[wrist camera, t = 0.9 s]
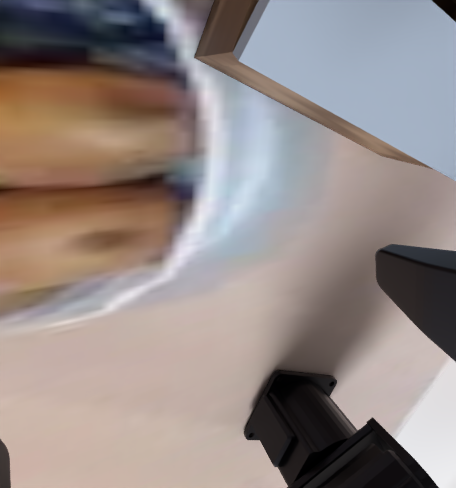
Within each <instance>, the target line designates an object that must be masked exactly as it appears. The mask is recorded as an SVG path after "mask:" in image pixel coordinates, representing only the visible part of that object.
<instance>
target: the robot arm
mask: <svg viewBox="0 0 456 488" xmlns="http://www.w3.org/2000/svg"><path fill="white" fill-rule="evenodd" d="M375 261H376V279H377V282H378V285H379V286H380V288H381V289H382V290H383V291H384V292H385V293H386V294H387V295H388V296H389V297H390V298H391V299H392V301H393V302H394V303H395V304H396V305H397V306H398V307H399V308H400V309H401V310H402V311H403V312H404V313H405V314H406V315H407V317H408V318H409V319H410V320H411V321H412V322H413V323H414V324H415V325H416V326H417V327H418V328H419V329H420V330H421V331H422V332H423V333H424V334H425V335H426V336H427V337H428V338H429V339H431V340H432V341H433V342H434V343H435V344H436V345H437V346H438V347H440V348H441V349H442V350H443V351H444V352H445V353H446V354H448V355H449V356H450V357H451V358H452V359H453V360H454V361H456V251H449V250H440V249H431V248H422V247H413V246H405V245H396V244H391V245H388V246H386V247H383V248H381V249H379V250H378V251H377V252H376V255H375ZM336 383H337V380H336V379H335V378H334V377H333V376H329V375H319V374H310V373H300V372H291V371H281V370H279V371H276V372H274V373H273V375H272V376H271V378H270V380H269V382H268V384H267V387H266V389H265V391H264V393H263V395H262V397H261V399H260V401H259V403H258V405H257V407H256V409H255V411H254V413H253V415H252V417H251V419H250V421H249V423H248V425H247V427H246V429H245V431H244V435H245V437H246V439H247V440H260V441H261V443H262V445H263V447H264V449H265V451H266V452H267V454H268V456H269V458H270V460H271V462H272V464H273V466H274V467H278V469H279V470H280V472H281V474H282V476H283V478H284V480H285V482H286V483H287V485H288V487H287V488H439V487H438V486H437V485H436V484H435V483H434V481H433V480H432V479H431V477H430V476H429V475H428V474H427V473H426V471H425V470H424V469H423V468H422V467H421V466H420V465H419V464H418V462H417V461H416V460H415V459H414V458H413V457H412V456H411V455H410V454H409V453H408V452H407V451H406V450H405V449H404V448H403V447H402V446H401V445H400V444H399V443H398V442H397V441H396V440H395V439H394V438H393V437H392V436H391V435H390V434H389V433H388V432H387V431H386V430H385V429H384V428H383V427H382V426H381V425H380V424H379V423H378V422H377V421H376V420H375V419H374V418H371V419H370V420H369V421H367V424H366V425H365V426H363V427H362V428H361V429H360V430H357V429H356V428H355V427H354V426H353V424H352V423H351V422H350V421H349V419H348V418H347V417H346V416H345V415H344V413H343V412H342V411H341V410H340V409H339V407H338V406H337V405H336V404H335V402H334V401H333V400H332V399H331V398H330V395H331V393H332V391H333V389H334V387H335V386H336ZM0 488H11V482H10V458H9V453H8V450H7V447H6V446H5V444H4V443H3V442H2V440H1V439H0Z"/></svg>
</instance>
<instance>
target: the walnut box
mask: <svg viewBox="0 0 456 488" xmlns="http://www.w3.org/2000/svg"><path fill="white" fill-rule="evenodd" d="M258 1H259V0H214V3H213V6H212V9H211V12H210V15H209V17H208V20H207V23H206V26H205V29H204V31H203V34H202V37H201V40H200V43H199V46H198V48H197V51H196V54H195V57H194V58H196V59H198V60H200V61H201V62H203V63H205V64H207V65H209V66H211V67H213V68H215V69H217V70H219V71H221V72H222V73H224V74H226V75H228V76H230V77H232V78H234V79H236V80H238V81H240V82H242V83H243V84H245V85H247V86H249V87H251V88H253V89H255V90H257V91H259V92H261V93H263V94H264V95H266V96H268V97H270V98H272V99H274V100H276V101H278V102H280V103H282V104H284V105H285V106H287V107H289V108H291V109H293V110H295V111H297V112H299V113H301V114H303V115H305V116H306V117H308V118H310V119H312V120H314V121H316V122H318V123H320V124H322V125H324V126H326V127H327V128H329V129H331V130H333V131H335V132H337V133H339V134H341V135H343V136H345V137H346V138H348V139H350V140H352V141H354V142H356V143H358V144H360V145H362V146H364V147H366V148H367V149H369V150H371V151H373V152H375V153H377V154H379V155H381V156H384V157H388V158H392V159H396V160H400V161H404V162H407V163H411V164H415V165H419V166H423V167H427V168H431V167H429V166H427V165H426V164H424V163H422V162H420V161H418V160H417V159H415V158H413V157H411V156H409V155H408V154H406V153H404V152H402V151H400V150H398V149H397V148H395V147H393V146H391V145H389V144H388V143H386V142H384V141H382V140H380V139H379V138H377V137H375V136H373V135H371V134H370V133H368V132H366V131H364V130H362V129H361V128H359V127H357V126H355V125H353V124H351V123H350V122H348V121H346V120H344V119H342V118H341V117H339V116H337V115H335V114H333V113H332V112H330V111H328V110H326V109H324V108H323V107H321V106H319V105H317V104H315V103H314V102H312V101H310V100H308V99H306V98H304V97H303V96H301V95H299V94H297V93H295V92H294V91H292V90H290V89H288V88H286V87H285V86H283V85H281V84H279V83H277V82H276V81H274V80H272V79H270V78H268V77H267V76H265V75H263V74H261V73H259V72H257V71H256V70H254V69H252V68H250V67H248V66H247V65H245V64H243V63H241V62H239V61H238V60H237V58H236V57H235V56H234V54H233V51H234V49H235V47H236V45H237V43H238V41H239V39H240V37H241V35H242V33H243V31H244V29H245V27H246V25H247V23H248V21H249V19H250V17H251V15H252V13H253V11H254V9H255V7H256V5H257V3H258ZM432 1H433V2H434V3H435V4H436V5H437V6H438V7H439V8H441V9H442V10H443V11H444V12H445V13H446V14H447V15H448V16H450V17H451V18H452V19H453V20H454V21H455V22H456V0H432ZM431 169H433V168H431Z"/></svg>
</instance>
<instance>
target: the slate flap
mask: <svg viewBox="0 0 456 488" xmlns="http://www.w3.org/2000/svg"><path fill="white" fill-rule="evenodd" d="M233 54H234V56H235V57H236V58H237V60H238V61H239V62H241V63H243V64H245V65H247V66H248V67H250V68H252V69H254V70H256V71H257V72H259V73H261V74H263V75H265V76H267V77H268V78H270V79H272V80H274V81H276V82H277V83H279V84H281V85H283V86H285V87H286V88H288V89H290V90H292V91H294V92H295V93H297V94H299V95H301V96H303V97H304V98H306V99H308V100H310V101H312V102H314V103H315V104H317V105H319V106H321V107H323V108H324V109H326V110H328V111H330V112H332V113H333V114H335V115H337V116H339V117H341V118H342V119H344V120H346V121H348V122H350V123H351V124H353V125H355V126H357V127H359V128H361V129H362V130H364V131H366V132H368V133H370V134H371V135H373V136H375V137H377V138H379V139H380V140H382V141H384V142H386V143H388V144H389V145H391V146H393V147H395V148H397V149H398V150H400V151H402V152H404V153H406V154H408V155H409V156H411V157H413V158H415V159H417V160H418V161H420V162H422V163H424V164H426V165H427V166H429V167H431V168H433V169H435V170H436V171H438V172H440V173H442V174H444V175H445V176H447V177H449V178H451V179H453V180H455V181H456V22H455V21H454V20H453V19H452V18H451V17H450V16H448V15H447V14H446V13H445V12H444V11H443V10H442V9H441V8H439V7H438V6H437V5H436V4H435V3H434V2H433V1H432V0H259V1H258V3H257V5H256V7H255V9H254V11H253V13H252V15H251V17H250V19H249V21H248V23H247V25H246V27H245V29H244V31H243V33H242V35H241V37H240V39H239V41H238V43H237V45H236V47H235V49H234V51H233Z"/></svg>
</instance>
